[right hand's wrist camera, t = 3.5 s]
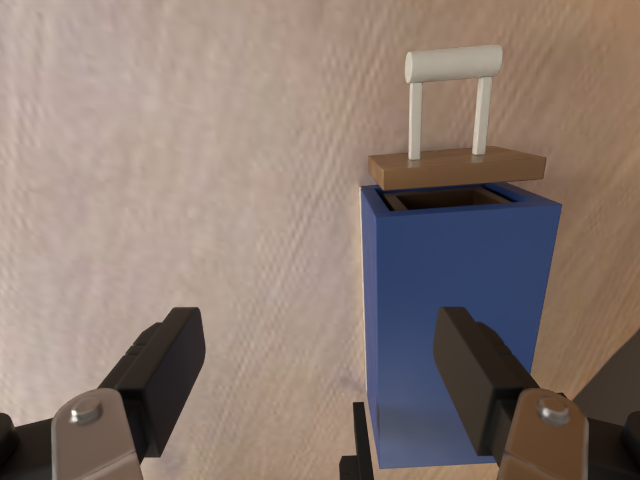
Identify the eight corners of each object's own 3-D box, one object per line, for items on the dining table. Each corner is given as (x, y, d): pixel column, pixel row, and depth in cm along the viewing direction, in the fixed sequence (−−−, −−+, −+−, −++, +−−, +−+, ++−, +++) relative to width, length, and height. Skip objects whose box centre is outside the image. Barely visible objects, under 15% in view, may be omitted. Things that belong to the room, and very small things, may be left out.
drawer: (365, 61, 22) (381, 45, 17) (504, 50, 22) (568, 30, 16) (372, 365, 31) (384, 421, 25) (471, 359, 31) (505, 414, 25)
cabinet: (359, 186, 26) (375, 217, 19) (492, 176, 26) (562, 204, 18) (365, 388, 33) (379, 469, 26) (469, 382, 33) (514, 462, 26)
